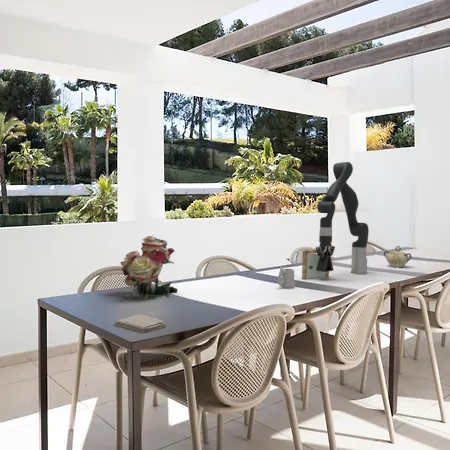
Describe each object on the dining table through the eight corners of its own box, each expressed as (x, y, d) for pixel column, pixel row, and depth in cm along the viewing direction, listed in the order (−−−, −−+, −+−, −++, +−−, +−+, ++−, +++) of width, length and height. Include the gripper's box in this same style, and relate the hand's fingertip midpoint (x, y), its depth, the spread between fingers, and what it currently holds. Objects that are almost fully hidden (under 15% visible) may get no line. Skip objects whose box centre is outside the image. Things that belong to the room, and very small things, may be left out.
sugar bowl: (414, 267, 356) (415, 246, 355) (407, 269, 345) (408, 248, 344) (387, 264, 369) (388, 244, 368) (379, 266, 357) (380, 245, 356)
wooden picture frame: (326, 276, 312) (327, 248, 311) (328, 276, 311) (329, 249, 309) (301, 278, 302) (302, 250, 301) (304, 279, 300) (304, 250, 299)
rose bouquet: (124, 289, 263) (124, 233, 261) (179, 290, 262) (179, 234, 260) (112, 300, 238) (111, 237, 236) (172, 301, 237) (173, 238, 235)
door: (323, 276, 311) (324, 253, 310) (326, 276, 308) (327, 253, 308) (305, 278, 303) (305, 254, 302) (308, 278, 301) (308, 254, 300)
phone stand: (323, 272, 295) (324, 252, 295) (316, 270, 300) (316, 251, 299) (333, 270, 301) (334, 251, 300) (326, 269, 306) (326, 250, 305)
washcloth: (145, 334, 183) (145, 326, 182) (113, 326, 194) (113, 318, 193) (168, 327, 192) (168, 320, 192) (136, 320, 203) (136, 312, 203)
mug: (297, 287, 275) (298, 265, 274) (283, 289, 267) (284, 267, 266) (287, 285, 281) (287, 264, 280) (273, 287, 273) (273, 266, 272)
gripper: (330, 233, 306) (329, 261, 307) (312, 234, 299) (311, 263, 300) (338, 234, 300) (338, 263, 301) (321, 235, 292) (320, 264, 293)
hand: (325, 263), depth 300 cm, fingers closed on phone stand, 3 cm apart
